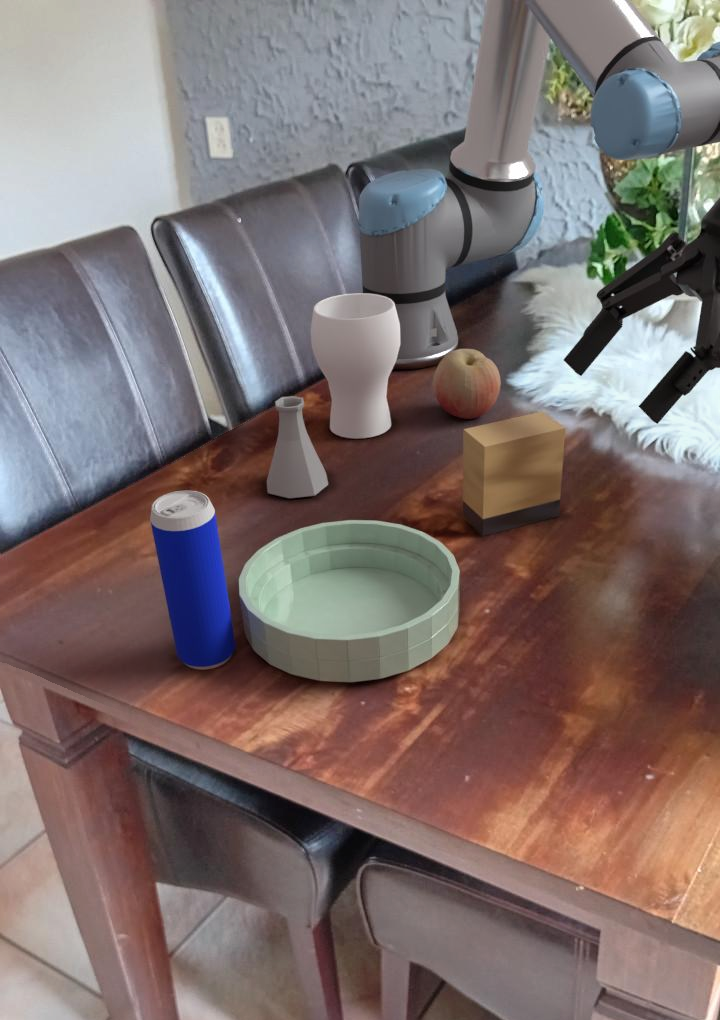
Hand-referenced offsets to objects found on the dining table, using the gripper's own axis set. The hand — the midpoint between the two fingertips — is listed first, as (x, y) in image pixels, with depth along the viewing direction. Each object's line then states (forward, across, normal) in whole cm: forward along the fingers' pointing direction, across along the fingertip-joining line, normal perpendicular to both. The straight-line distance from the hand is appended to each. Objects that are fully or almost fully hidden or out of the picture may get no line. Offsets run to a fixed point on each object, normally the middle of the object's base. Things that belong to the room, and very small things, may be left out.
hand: (607, 390), depth 101 cm
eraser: (+16, 0, -1) cm, 16 cm away
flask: (+29, +17, +12) cm, 35 cm away
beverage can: (+41, -10, +24) cm, 49 cm away
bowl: (+31, -10, +15) cm, 36 cm away
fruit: (+10, +25, -6) cm, 28 cm away
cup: (+20, +28, +3) cm, 35 cm away
